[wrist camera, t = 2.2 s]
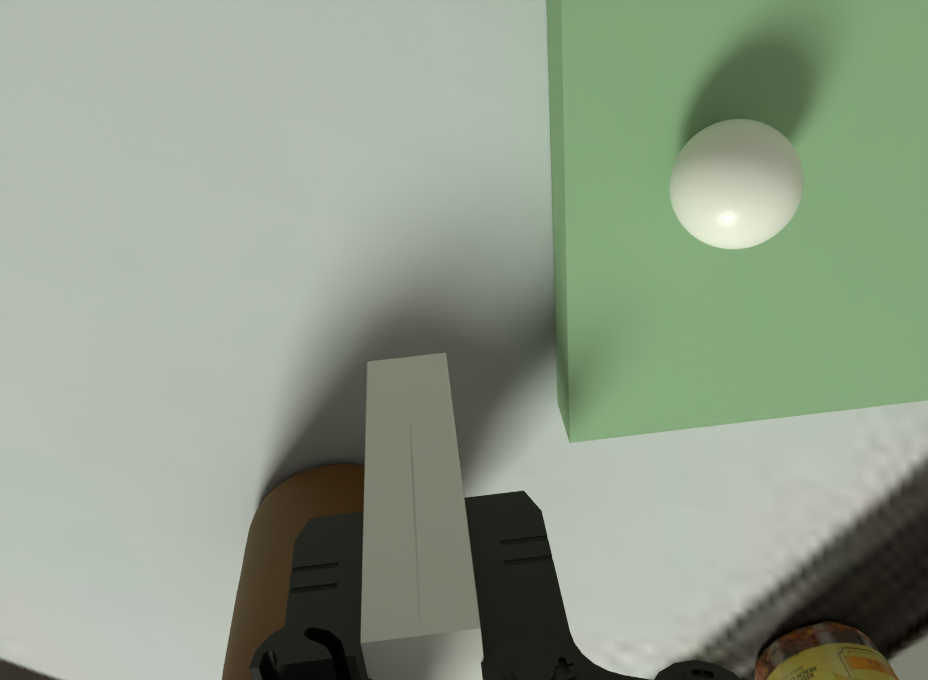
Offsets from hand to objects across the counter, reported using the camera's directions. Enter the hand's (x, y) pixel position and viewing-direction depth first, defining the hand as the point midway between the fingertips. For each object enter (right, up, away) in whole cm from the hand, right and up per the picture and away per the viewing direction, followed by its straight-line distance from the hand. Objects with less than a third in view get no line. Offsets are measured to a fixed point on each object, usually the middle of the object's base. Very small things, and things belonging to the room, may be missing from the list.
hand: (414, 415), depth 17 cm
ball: (+9, +6, +7) cm, 13 cm away
